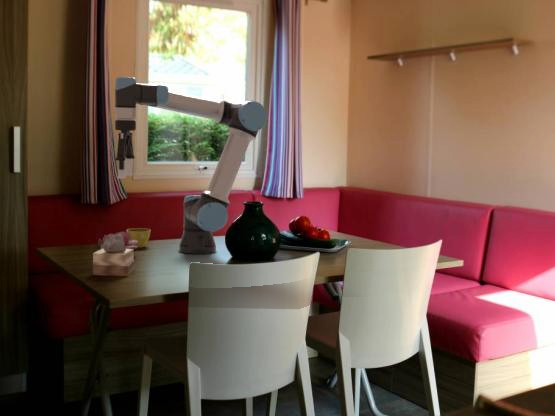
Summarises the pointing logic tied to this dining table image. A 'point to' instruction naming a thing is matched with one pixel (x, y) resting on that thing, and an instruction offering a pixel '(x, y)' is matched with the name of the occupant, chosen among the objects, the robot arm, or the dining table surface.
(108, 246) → the stone
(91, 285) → the dining table surface
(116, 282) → the dining table surface
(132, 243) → the flower
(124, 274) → the tower base
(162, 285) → the dining table surface
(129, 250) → the tower top
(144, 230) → the flower pot
